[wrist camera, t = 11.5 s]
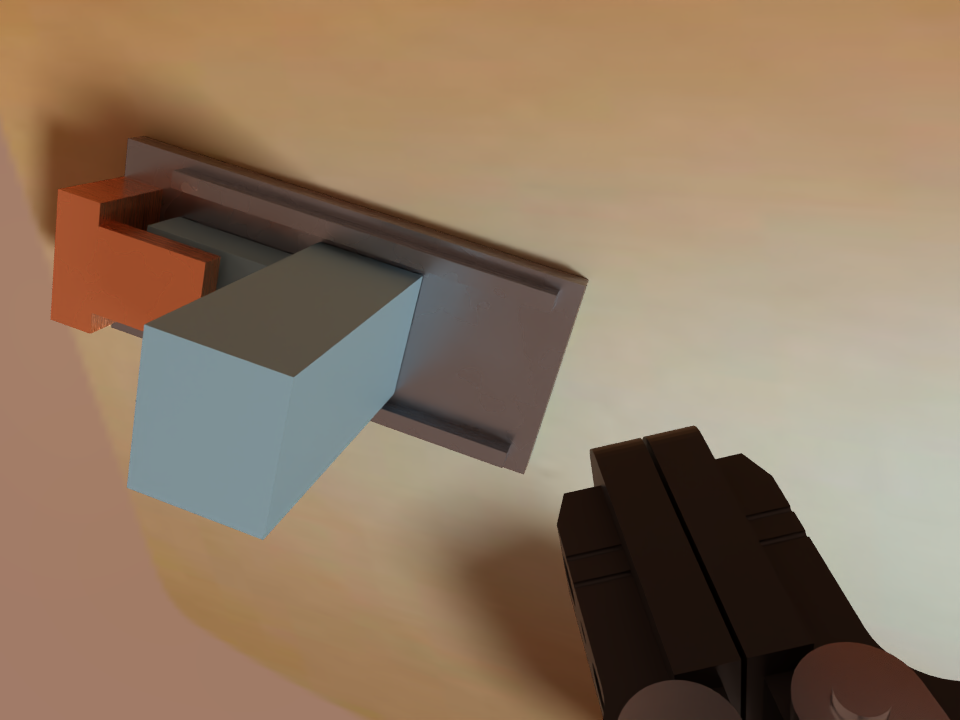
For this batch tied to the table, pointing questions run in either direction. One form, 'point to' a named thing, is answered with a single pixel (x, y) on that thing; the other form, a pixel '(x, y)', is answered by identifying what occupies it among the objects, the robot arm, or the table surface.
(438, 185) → the table surface
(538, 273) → the rail plate
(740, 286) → the table surface
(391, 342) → the grey blue block
